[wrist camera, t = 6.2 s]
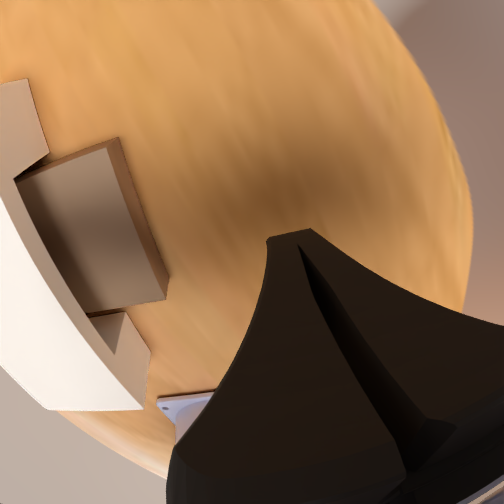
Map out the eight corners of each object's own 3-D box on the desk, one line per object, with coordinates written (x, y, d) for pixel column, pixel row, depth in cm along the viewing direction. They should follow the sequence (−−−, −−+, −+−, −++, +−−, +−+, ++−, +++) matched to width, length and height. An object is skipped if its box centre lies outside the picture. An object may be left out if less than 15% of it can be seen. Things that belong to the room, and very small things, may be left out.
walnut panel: (170, 272, 15) (165, 299, 13) (35, 299, 15) (23, 322, 13) (121, 134, 11) (105, 147, 9) (-21, 196, 11) (-42, 214, 10)
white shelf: (150, 352, 17) (144, 409, 14) (61, 361, 18) (46, 409, 14) (27, 78, 8) (-34, 93, 5) (-63, 145, 9) (-112, 177, 5)
